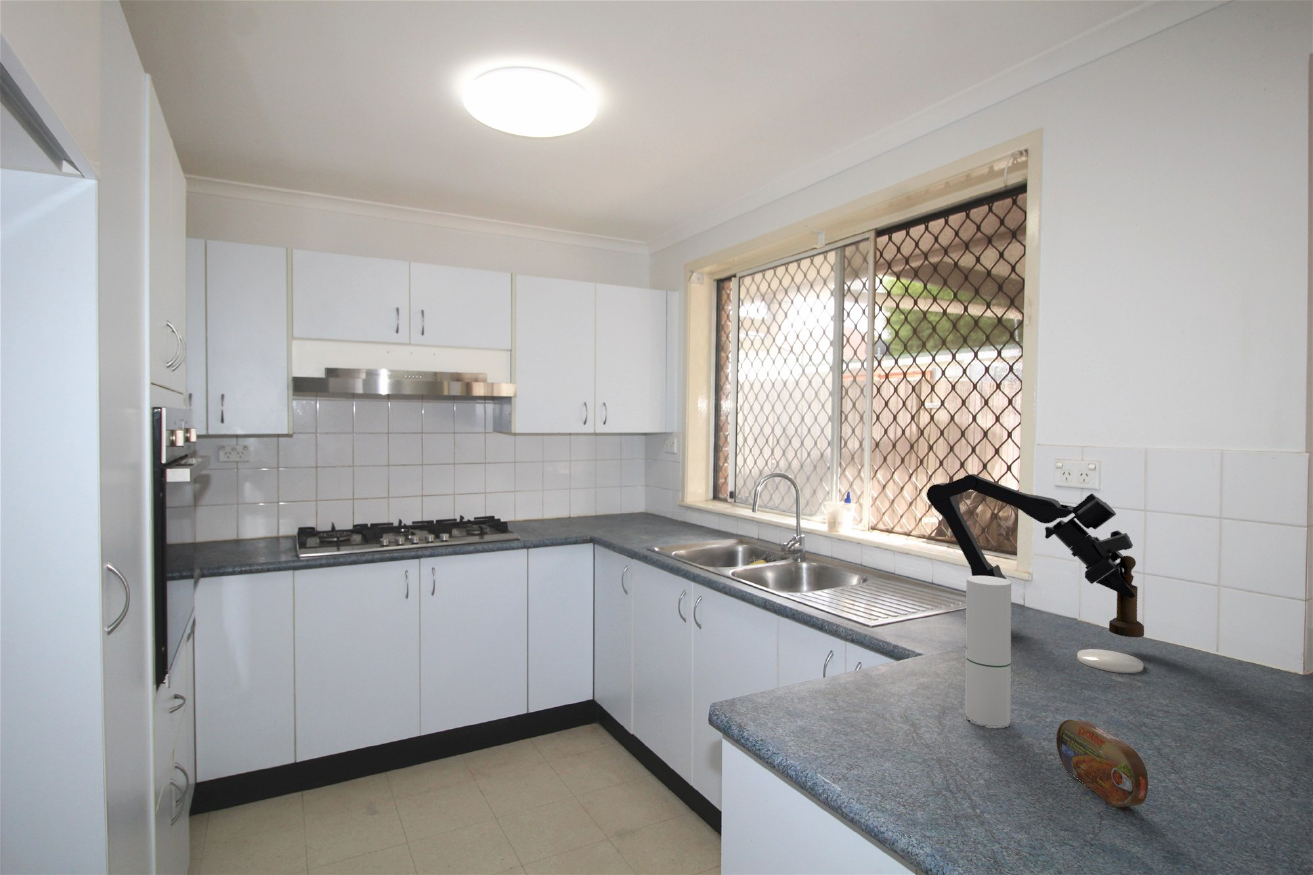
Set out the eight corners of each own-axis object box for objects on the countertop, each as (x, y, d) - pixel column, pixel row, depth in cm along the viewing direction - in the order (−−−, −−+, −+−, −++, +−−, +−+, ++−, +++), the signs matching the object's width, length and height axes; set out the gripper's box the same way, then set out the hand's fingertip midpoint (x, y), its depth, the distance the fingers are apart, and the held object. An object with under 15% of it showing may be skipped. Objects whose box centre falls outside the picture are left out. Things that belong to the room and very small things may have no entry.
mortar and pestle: (1133, 629, 157) (1135, 553, 156) (1150, 638, 151) (1152, 559, 150) (1103, 628, 158) (1105, 552, 157) (1118, 637, 152) (1120, 558, 151)
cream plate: (1084, 668, 143) (1084, 663, 143) (1072, 650, 155) (1072, 646, 155) (1151, 676, 139) (1151, 671, 139) (1133, 657, 150) (1133, 653, 150)
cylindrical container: (1006, 714, 121) (1007, 577, 120) (1013, 731, 114) (1014, 586, 114) (963, 708, 123) (964, 574, 123) (967, 725, 117) (968, 583, 116)
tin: (1054, 763, 104) (1054, 709, 104) (1073, 762, 104) (1073, 709, 104) (1130, 820, 89) (1131, 758, 89) (1153, 819, 89) (1153, 757, 89)
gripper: (1103, 525, 149) (1164, 582, 142) (1113, 516, 163) (1168, 567, 157) (1061, 555, 154) (1118, 611, 147) (1074, 544, 169) (1126, 594, 162)
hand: (1134, 595), depth 153 cm, fingers closed on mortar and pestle, 4 cm apart
